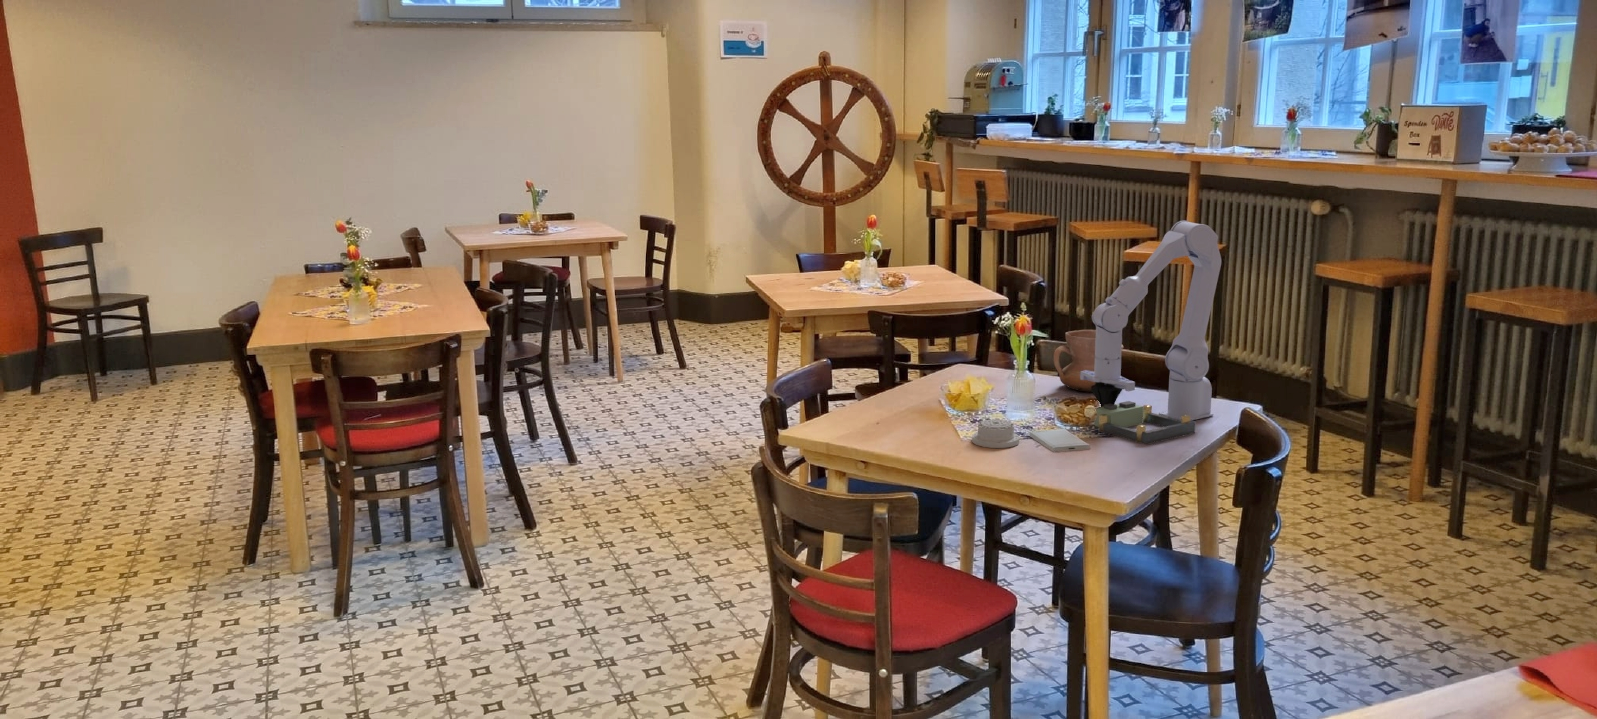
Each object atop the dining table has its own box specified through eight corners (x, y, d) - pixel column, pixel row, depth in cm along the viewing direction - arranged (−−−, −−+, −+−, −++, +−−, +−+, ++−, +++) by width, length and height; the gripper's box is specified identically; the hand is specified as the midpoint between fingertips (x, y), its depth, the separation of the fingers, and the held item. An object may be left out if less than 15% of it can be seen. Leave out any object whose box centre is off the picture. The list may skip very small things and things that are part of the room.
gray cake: (1028, 442, 247) (990, 433, 254) (1029, 422, 246) (990, 414, 253) (1001, 452, 240) (962, 443, 247) (1001, 431, 239) (962, 423, 246)
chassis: (1146, 419, 262) (1147, 404, 262) (1195, 432, 251) (1196, 417, 250) (1096, 430, 254) (1097, 415, 253) (1145, 444, 243) (1146, 428, 242)
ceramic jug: (1110, 380, 300) (1112, 326, 297) (1132, 393, 286) (1134, 337, 283) (1042, 383, 298) (1044, 329, 295) (1061, 397, 284) (1063, 340, 281)
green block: (1125, 418, 263) (1126, 398, 262) (1142, 423, 259) (1143, 402, 258) (1093, 425, 258) (1094, 404, 257) (1110, 430, 254) (1111, 409, 253)
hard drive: (1029, 431, 251) (1053, 446, 239) (1064, 428, 252) (1090, 443, 240) (1029, 438, 251) (1053, 454, 239) (1064, 435, 253) (1090, 451, 241)
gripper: (1071, 354, 263) (1069, 412, 266) (1120, 365, 251) (1117, 425, 254) (1093, 350, 267) (1091, 407, 270) (1142, 361, 255) (1139, 420, 258)
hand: (1105, 416), depth 262 cm, fingers closed
